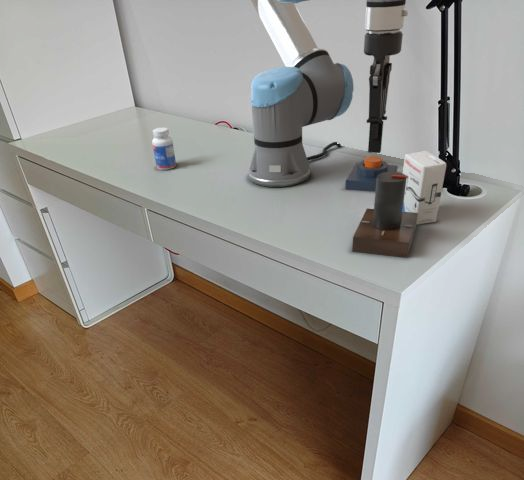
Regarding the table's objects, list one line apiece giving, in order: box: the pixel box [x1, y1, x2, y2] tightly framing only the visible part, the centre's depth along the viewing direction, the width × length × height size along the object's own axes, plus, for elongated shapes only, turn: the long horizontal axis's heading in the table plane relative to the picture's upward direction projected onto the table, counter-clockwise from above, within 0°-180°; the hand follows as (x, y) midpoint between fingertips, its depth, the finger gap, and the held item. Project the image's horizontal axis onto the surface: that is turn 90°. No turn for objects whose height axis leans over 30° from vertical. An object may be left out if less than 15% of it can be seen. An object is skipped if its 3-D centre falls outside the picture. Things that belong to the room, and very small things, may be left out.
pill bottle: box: [151, 127, 177, 171], centre depth 133 cm, size 6×5×10 cm
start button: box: [364, 155, 383, 168], centre depth 116 cm, size 4×4×2 cm
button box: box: [345, 160, 399, 193], centre depth 118 cm, size 12×10×4 cm
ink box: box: [402, 150, 447, 226], centre depth 99 cm, size 9×5×12 cm, turn 13°
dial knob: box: [373, 171, 407, 230], centre depth 91 cm, size 5×5×9 cm
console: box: [351, 208, 418, 259], centre depth 95 cm, size 13×10×3 cm
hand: (374, 151), depth 115 cm, fingers closed
